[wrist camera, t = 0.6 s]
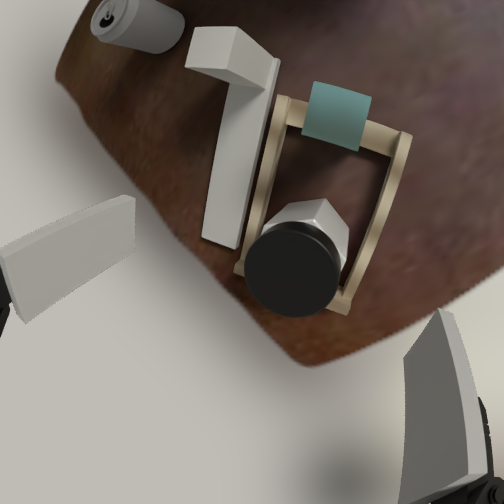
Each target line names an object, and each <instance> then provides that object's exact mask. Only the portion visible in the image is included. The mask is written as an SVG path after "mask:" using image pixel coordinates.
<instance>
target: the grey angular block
mask: <svg viewBox="0 0 504 504" xmlns="http://www.w3.org/2000/svg"><path fill="white" fill-rule="evenodd" d="M280 62H281V61H280V60H279V59H278V58H273V57H272V56H271V55H270V54H269V53H268V52H267V51H266V50H265V49H263V48H262V47H261V46H260V45H259V44H258V43H257V42H255V41H254V40H253V39H252V38H251V37H249V36H248V35H247V34H246V33H245V32H243V31H242V30H241V29H240V28H238V27H227V26H219V27H195V29H194V33H193V36H192V40H191V44H190V48H189V52H188V56H187V60H186V64H185V67H186V68H189V69H192V70H195V71H198V72H201V73H204V74H207V75H210V76H213V77H215V78H218V79H221V80H223V81H226V82H229V83H230V85H229V89H228V93H227V98H226V102H225V107H224V112H223V117H222V121H221V126H220V131H219V136H218V141H217V147H216V152H215V157H214V163H213V168H212V174H211V179H210V185H209V191H208V197H207V203H206V210H205V216H204V223H203V230H202V236H201V237H203V238H205V239H208V240H211V241H213V242H216V243H219V244H221V245H224V246H227V247H229V248H232V249H236V248H237V247H239V243H240V238H241V234H242V229H243V224H244V220H245V215H246V210H247V206H248V201H249V197H250V192H251V188H252V183H253V179H254V174H255V170H256V165H257V161H258V156H259V152H260V148H261V143H262V139H263V134H264V130H265V126H266V121H267V117H268V113H269V109H270V104H271V100H272V96H273V92H274V87H275V83H276V79H277V75H278V71H279V67H280Z"/></svg>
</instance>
